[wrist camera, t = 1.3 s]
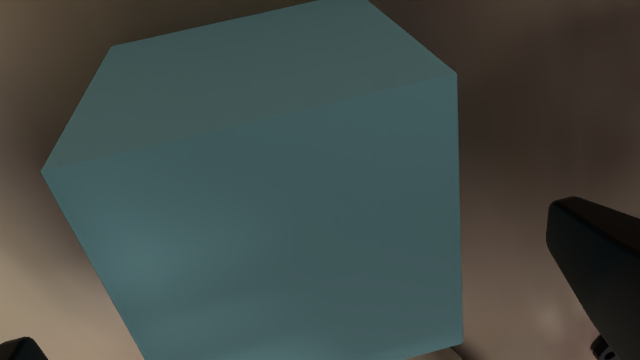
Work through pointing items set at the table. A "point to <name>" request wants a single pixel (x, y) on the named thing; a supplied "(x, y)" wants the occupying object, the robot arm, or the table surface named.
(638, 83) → the table surface
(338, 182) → the teal block
